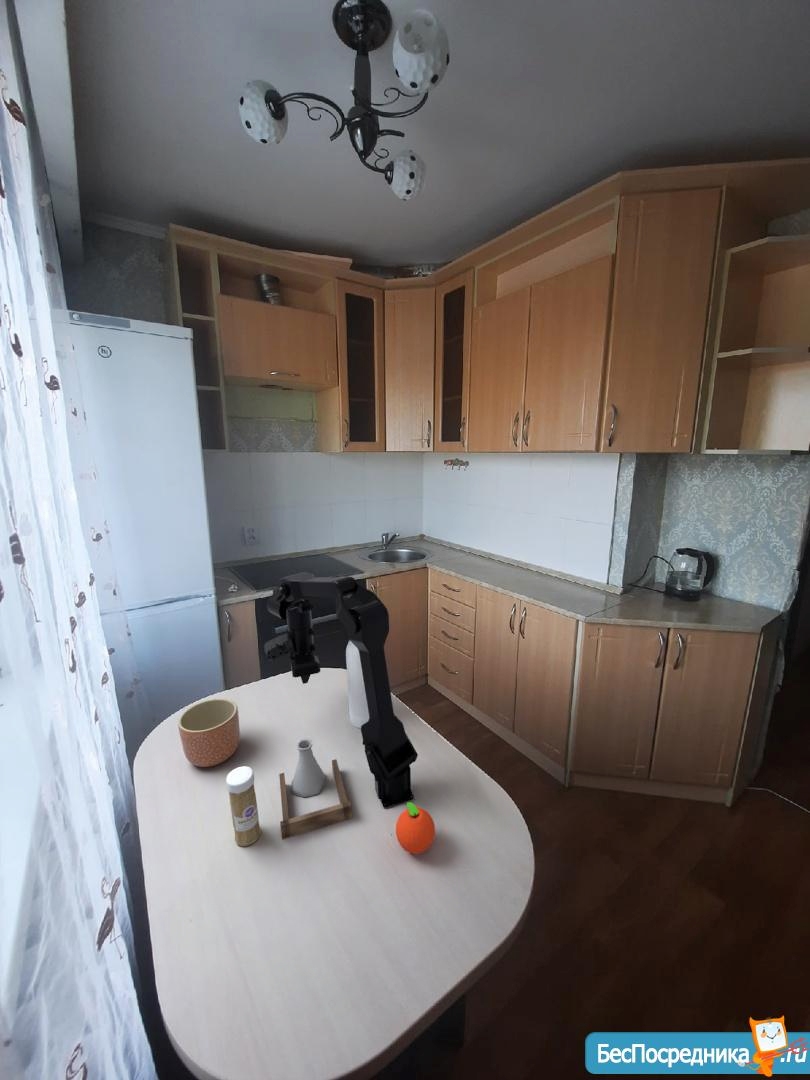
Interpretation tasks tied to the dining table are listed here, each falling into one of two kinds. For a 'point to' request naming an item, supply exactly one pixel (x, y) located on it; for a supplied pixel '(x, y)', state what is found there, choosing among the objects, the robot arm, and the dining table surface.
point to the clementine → (415, 829)
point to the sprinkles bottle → (243, 805)
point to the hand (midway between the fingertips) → (305, 682)
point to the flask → (307, 772)
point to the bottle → (356, 687)
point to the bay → (318, 817)
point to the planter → (210, 731)
